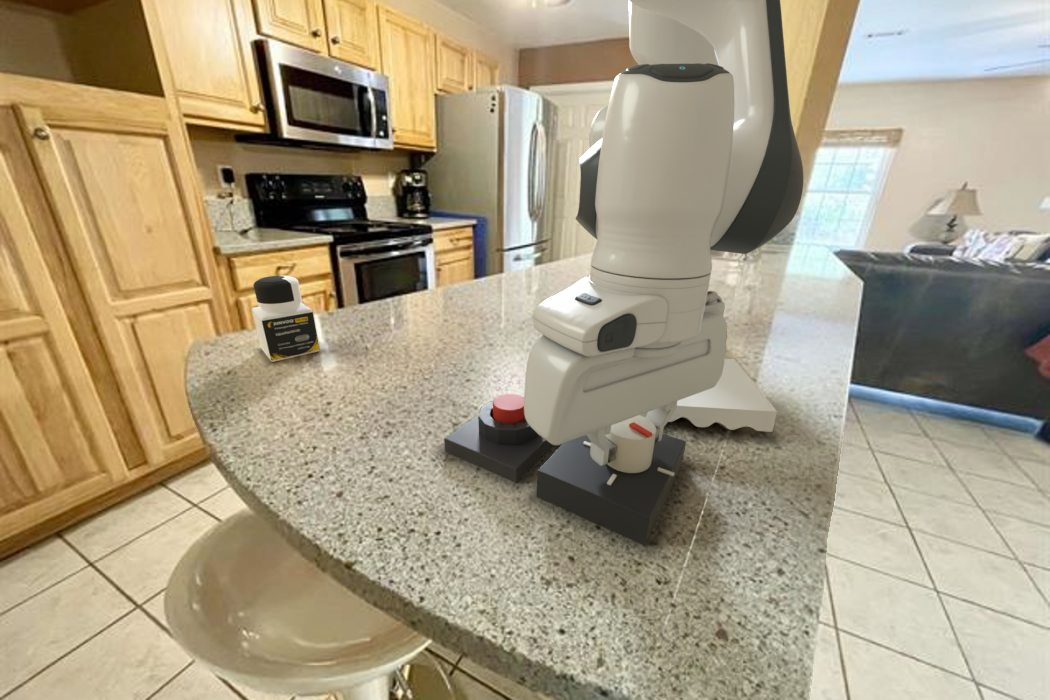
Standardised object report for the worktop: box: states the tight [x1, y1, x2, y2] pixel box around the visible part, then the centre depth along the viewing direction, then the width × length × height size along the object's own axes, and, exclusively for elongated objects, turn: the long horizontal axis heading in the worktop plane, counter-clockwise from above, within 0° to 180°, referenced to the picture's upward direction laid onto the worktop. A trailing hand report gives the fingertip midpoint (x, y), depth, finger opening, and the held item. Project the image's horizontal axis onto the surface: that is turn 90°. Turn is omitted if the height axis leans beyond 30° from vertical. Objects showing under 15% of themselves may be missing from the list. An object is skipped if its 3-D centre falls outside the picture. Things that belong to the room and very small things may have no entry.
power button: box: [492, 393, 525, 424], centre depth 45 cm, size 4×4×2 cm
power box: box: [443, 400, 554, 484], centre depth 45 cm, size 11×9×4 cm
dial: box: [605, 415, 656, 473], centre depth 38 cm, size 4×4×4 cm
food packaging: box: [640, 358, 778, 433], centre depth 54 cm, size 15×3×20 cm
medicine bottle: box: [251, 275, 321, 363], centre depth 66 cm, size 7×7×12 cm
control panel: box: [536, 433, 687, 546], centre depth 40 cm, size 12×10×3 cm
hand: (626, 449), depth 38 cm, fingers closed on dial, 4 cm apart
